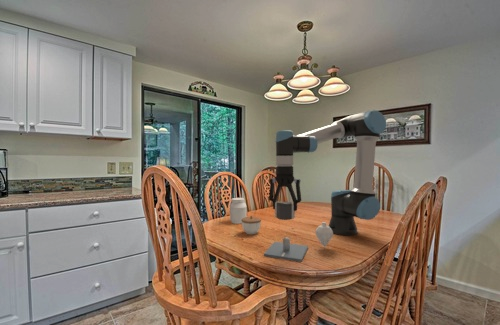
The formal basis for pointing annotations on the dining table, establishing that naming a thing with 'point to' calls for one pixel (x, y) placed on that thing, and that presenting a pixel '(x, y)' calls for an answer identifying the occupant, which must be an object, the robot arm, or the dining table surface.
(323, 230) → the spinning top
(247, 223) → the lidded jar
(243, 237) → the dining table surface
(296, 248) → the shaft plate
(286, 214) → the knob
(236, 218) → the jar
